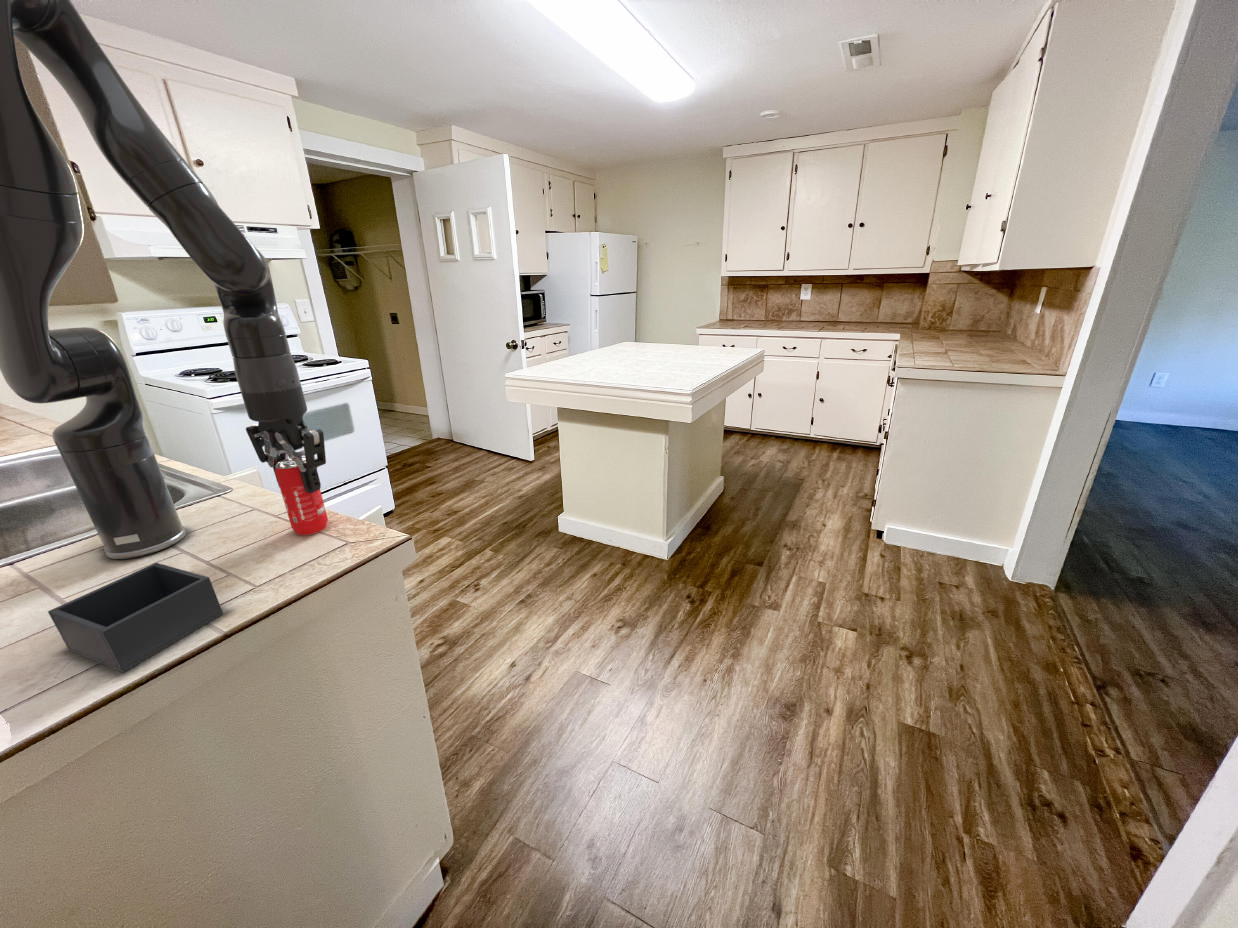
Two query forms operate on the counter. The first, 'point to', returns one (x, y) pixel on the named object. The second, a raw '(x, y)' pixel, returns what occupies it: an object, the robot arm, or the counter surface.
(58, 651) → the counter surface
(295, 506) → the beverage can
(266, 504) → the counter surface
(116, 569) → the counter surface
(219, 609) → the bin
